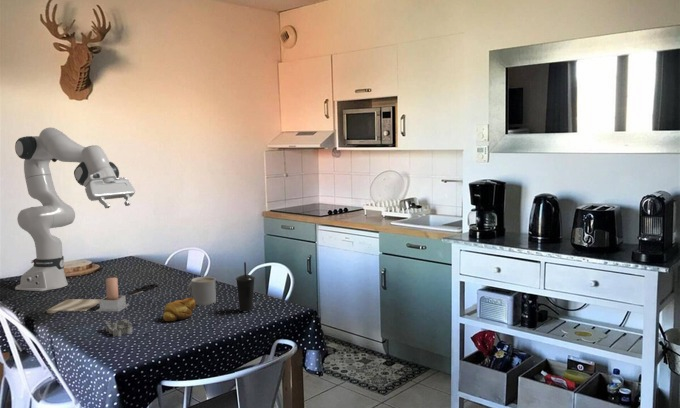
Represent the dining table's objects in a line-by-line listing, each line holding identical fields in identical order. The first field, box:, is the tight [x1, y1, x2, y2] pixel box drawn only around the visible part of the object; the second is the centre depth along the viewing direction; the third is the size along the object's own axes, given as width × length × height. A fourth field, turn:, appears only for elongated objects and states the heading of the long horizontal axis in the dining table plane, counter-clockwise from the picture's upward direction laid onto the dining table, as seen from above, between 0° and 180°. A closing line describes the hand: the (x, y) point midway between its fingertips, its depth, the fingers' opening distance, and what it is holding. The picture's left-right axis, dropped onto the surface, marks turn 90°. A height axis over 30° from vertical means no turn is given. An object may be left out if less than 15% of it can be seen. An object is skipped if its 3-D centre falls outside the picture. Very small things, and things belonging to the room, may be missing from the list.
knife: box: [126, 283, 159, 296], centre depth 254 cm, size 25×6×1 cm, turn 154°
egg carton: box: [104, 318, 133, 337], centre depth 201 cm, size 11×8×4 cm
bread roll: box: [162, 296, 196, 322], centre depth 216 cm, size 13×10×8 cm
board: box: [46, 298, 102, 314], centre depth 231 cm, size 16×16×1 cm
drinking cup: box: [235, 262, 256, 311], centre depth 224 cm, size 8×8×20 cm
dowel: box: [105, 277, 119, 300], centre depth 227 cm, size 4×4×12 cm
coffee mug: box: [188, 276, 217, 307], centre depth 238 cm, size 13×10×10 cm
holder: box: [95, 295, 131, 312], centre depth 227 cm, size 10×10×5 cm
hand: (118, 206), depth 230 cm, fingers open, 8 cm apart
